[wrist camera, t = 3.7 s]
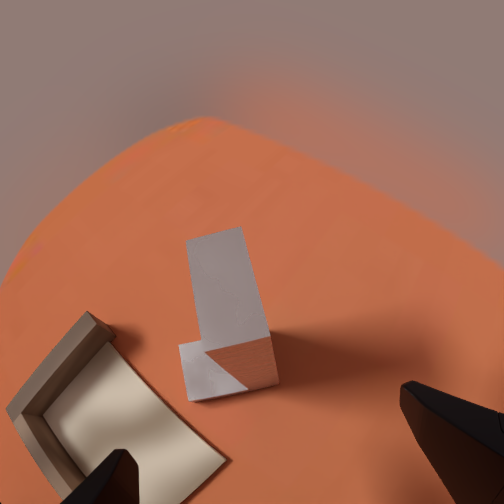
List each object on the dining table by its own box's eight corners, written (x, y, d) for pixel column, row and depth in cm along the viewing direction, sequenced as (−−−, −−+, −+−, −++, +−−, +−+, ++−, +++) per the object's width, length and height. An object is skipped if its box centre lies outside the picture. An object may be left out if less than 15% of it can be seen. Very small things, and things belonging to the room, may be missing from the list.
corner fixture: (234, 451, 17) (225, 457, 15) (130, 543, 13) (111, 554, 11) (106, 324, 23) (86, 310, 20) (28, 413, 19) (5, 408, 16)
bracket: (279, 383, 20) (270, 335, 9) (193, 402, 19) (90, 371, 9) (265, 329, 22) (241, 226, 11) (184, 348, 21) (88, 267, 11)
